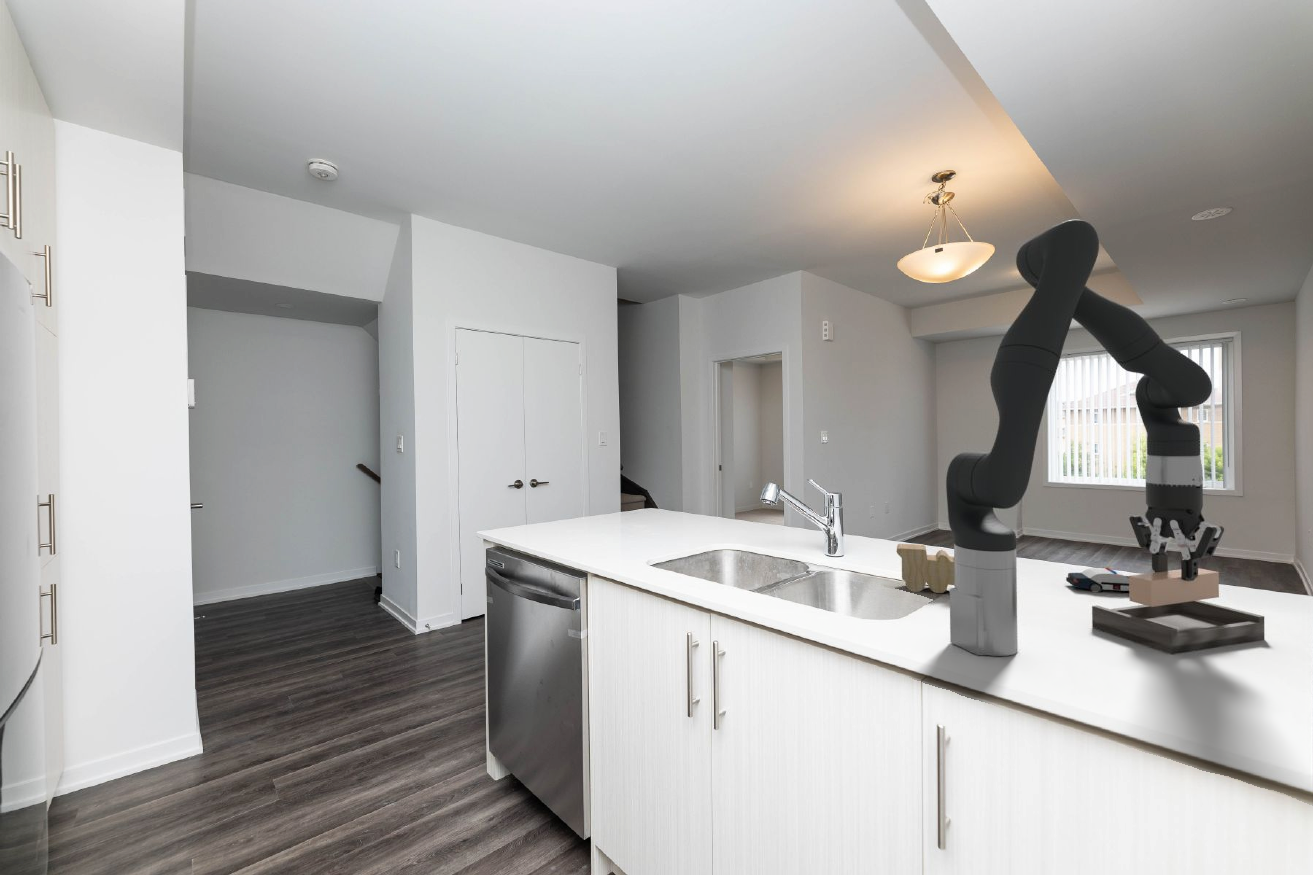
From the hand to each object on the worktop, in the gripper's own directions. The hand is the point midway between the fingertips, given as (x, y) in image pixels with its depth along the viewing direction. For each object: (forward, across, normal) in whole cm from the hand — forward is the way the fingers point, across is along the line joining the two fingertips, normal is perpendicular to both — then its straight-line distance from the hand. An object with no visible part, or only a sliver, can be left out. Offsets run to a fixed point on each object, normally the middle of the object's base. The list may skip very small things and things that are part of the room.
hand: (1174, 576), depth 101 cm
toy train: (+10, -35, -20) cm, 42 cm away
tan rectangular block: (+4, 0, 0) cm, 4 cm away
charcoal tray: (+10, 0, 0) cm, 10 cm away
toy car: (+11, -23, +16) cm, 30 cm away
